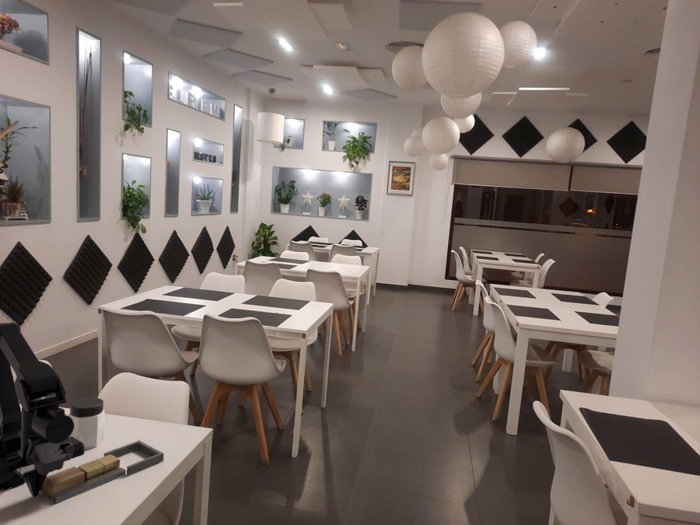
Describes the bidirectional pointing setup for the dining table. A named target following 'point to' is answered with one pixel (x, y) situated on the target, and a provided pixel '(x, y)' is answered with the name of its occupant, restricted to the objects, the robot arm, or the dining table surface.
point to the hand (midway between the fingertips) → (34, 495)
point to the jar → (88, 421)
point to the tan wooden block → (109, 463)
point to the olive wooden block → (91, 470)
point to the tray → (138, 445)
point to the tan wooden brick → (63, 480)
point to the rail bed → (85, 486)
